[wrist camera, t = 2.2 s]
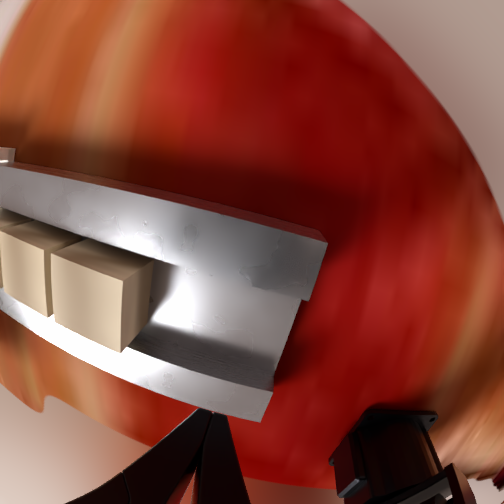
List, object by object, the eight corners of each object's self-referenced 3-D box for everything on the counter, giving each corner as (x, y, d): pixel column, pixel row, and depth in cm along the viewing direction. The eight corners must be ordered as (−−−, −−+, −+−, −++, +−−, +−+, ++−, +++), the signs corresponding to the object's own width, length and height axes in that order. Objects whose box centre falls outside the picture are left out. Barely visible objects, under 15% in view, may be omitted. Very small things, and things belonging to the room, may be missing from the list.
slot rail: (319, 230, 13) (328, 243, 10) (263, 391, 15) (259, 422, 13) (13, 161, 14) (-14, 163, 11) (12, 289, 16) (-10, 301, 14)
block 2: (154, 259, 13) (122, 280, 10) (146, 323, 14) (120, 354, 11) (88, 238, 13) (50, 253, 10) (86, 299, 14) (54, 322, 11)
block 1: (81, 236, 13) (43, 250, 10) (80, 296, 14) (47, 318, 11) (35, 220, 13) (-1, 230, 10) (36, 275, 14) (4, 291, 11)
